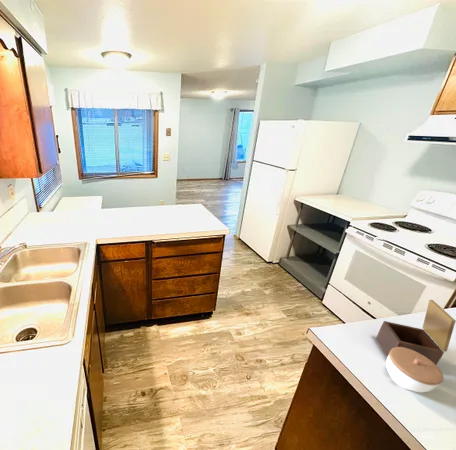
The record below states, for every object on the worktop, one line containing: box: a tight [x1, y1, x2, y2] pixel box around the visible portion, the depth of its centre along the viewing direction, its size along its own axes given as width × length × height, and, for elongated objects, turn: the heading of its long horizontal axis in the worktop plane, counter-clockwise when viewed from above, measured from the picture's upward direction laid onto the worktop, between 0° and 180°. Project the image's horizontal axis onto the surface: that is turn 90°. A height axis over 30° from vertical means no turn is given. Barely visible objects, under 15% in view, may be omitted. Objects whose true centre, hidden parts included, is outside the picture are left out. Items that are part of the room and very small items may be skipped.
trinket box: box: [385, 347, 444, 393], centre depth 69 cm, size 11×11×9 cm
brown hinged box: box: [375, 320, 445, 366], centre depth 78 cm, size 11×10×8 cm
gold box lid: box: [422, 299, 456, 352], centre depth 73 cm, size 11×10×1 cm
